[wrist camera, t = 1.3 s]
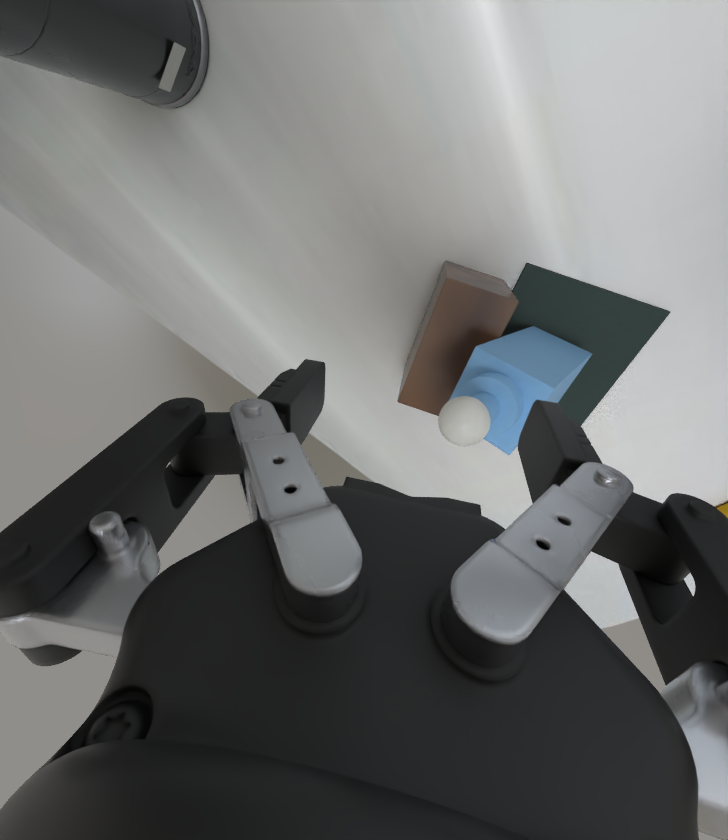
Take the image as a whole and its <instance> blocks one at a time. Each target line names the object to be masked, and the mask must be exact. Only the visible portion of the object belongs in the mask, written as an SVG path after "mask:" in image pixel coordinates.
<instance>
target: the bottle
mask: <svg viewBox="0 0 728 840" xmlns="http://www.w3.org/2000/svg"><path fill="white" fill-rule="evenodd" d="M591 355H592V353H590V352H588V351H586V350H583V349H581V348H579V347H577V346H575V345H573V344H571V343H569V342H567V341H564V340H562V339H560V338H558V337H556V336H554V335H552V334H550V333H547V332H545V331H543V330H541V329H539V328H537V327H535V326H531V327H529V328H526V329H523V330H520V331H517V332H515V333H512V334H509V335H506V336H503V337H501V338H498V339H495V340H492V341H489V342H487V343H484V344H481V345H478V346H476V347H475V349H474V351H473V353H472V355H471V357H470V359H469V361H468V363H467V365H466V367H465V369H464V371H463V373H462V375H461V377H460V379H459V381H458V383H457V385H456V387H455V389H454V391H453V394H452V396H451V398H450V400H449V401H448V402H447V403H446V404H445V405H444V406H443V407H442V409H441V411H440V414H439V419H438V423H439V428H440V431H441V433H442V435H443V436H444V437H445V438H446V439H447V440H448V441H449V442H451V443H453V444H455V445H458V446H471V445H474V444H476V443H478V442H480V441H481V440H482V439H483V438H484V439H485V440H487V441H488V442H490V443H491V444H493V445H494V446H496V447H497V448H499V449H500V450H502V451H503V452H505V453H506V454H508V455H510V454H511V452H512V451H513V450H514V449H515V448H516V447H517V446H518V441H519V437H520V434H521V431H522V429H523V426H524V424H525V421H526V419H527V416H528V414H529V412H530V409H531V407H532V405H533V403H534V401H535V400H543V401H549V402H555V403H558V402H559V400H560V399H561V398H562V396H563V395H564V393H565V392H566V391H567V389H568V388H569V386H570V385H571V384H572V382H573V381H574V379H575V378H576V376H577V375H578V374H579V372H580V371H581V369H582V368H583V367H584V365H585V364H586V362H587V361H588V360H589V358H590V357H591Z"/></svg>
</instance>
